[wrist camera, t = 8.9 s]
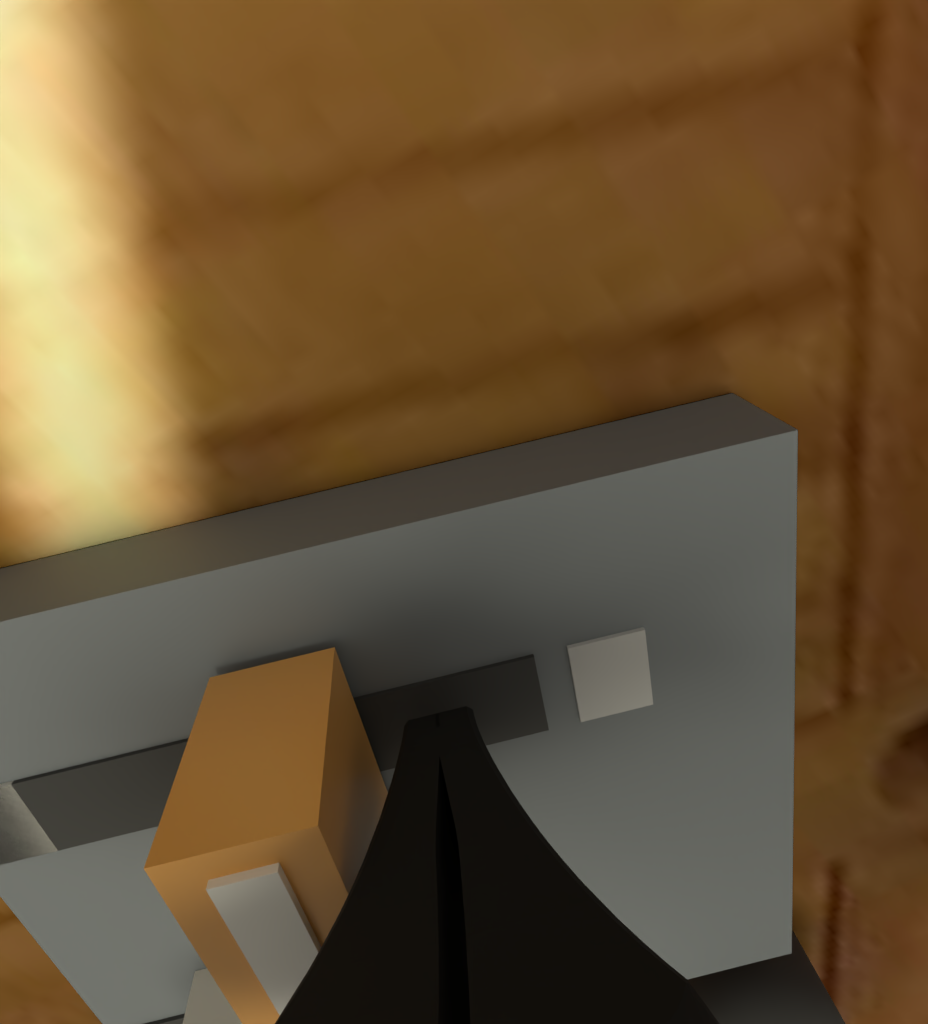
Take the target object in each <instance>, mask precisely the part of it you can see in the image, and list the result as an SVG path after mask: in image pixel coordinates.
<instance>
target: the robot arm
mask: <svg viewBox="0 0 928 1024" xmlns="http://www.w3.org/2000/svg"><path fill="white" fill-rule="evenodd" d="M275 1024H719V1022H718V1021H717V1020H716V1018H715V1017H714V1015H713V1014H712V1012H711V1011H710V1010H709V1008H708V1007H707V1005H706V1004H705V1003H704V1001H703V1000H702V999H701V997H700V996H699V995H698V993H697V992H696V991H695V989H694V988H693V986H692V985H691V984H690V982H689V981H688V980H687V979H686V978H685V977H684V976H682V975H681V974H680V973H679V972H678V971H676V970H675V969H674V968H673V967H671V966H670V965H669V964H668V963H667V962H665V961H664V960H663V959H662V958H661V957H660V956H659V955H657V954H656V953H655V952H654V951H653V950H652V949H650V948H649V947H648V946H647V945H646V944H645V943H644V942H643V941H642V940H640V939H639V938H638V937H637V936H636V935H635V934H634V933H633V932H632V931H631V930H630V929H629V928H628V927H626V926H625V925H624V924H623V923H622V922H621V921H620V920H619V919H618V918H617V917H616V916H615V915H614V914H613V913H612V912H611V911H610V910H609V909H608V908H607V907H606V906H605V905H604V904H603V903H602V902H601V901H600V900H599V899H598V898H597V897H596V895H595V894H594V893H593V892H592V891H591V890H590V889H589V888H588V887H587V886H586V885H585V884H584V883H583V882H582V881H581V880H580V879H579V878H578V877H577V875H576V874H575V873H574V872H573V871H572V870H571V869H570V867H569V866H568V865H567V864H566V863H565V862H564V861H563V859H562V858H561V857H560V856H559V855H558V853H557V852H556V851H555V850H554V848H553V847H552V846H551V845H550V844H549V842H548V841H547V840H546V838H545V837H544V836H543V835H542V833H541V832H540V831H539V829H538V828H537V827H536V825H535V824H534V823H533V821H532V820H531V818H530V817H529V816H528V814H527V813H526V811H525V810H524V809H523V807H522V806H521V804H520V803H519V801H518V800H517V798H516V797H515V795H514V794H513V792H512V791H511V789H510V788H509V786H508V784H507V783H506V781H505V779H504V778H503V776H502V774H501V773H500V771H499V769H498V768H497V766H496V764H495V762H494V761H493V759H492V757H491V755H490V753H489V751H488V749H487V747H486V745H485V743H484V741H483V739H482V736H481V734H480V732H479V729H478V726H477V723H476V719H475V715H474V712H473V709H471V708H469V707H467V706H464V707H460V708H456V709H452V710H448V711H444V712H440V713H436V714H432V715H427V716H423V717H419V718H415V719H411V720H408V722H407V723H406V724H405V726H404V731H403V737H402V742H401V746H400V751H399V755H398V759H397V763H396V767H395V771H394V774H393V778H392V781H391V785H390V788H389V791H388V794H387V797H386V800H385V803H384V807H383V810H382V813H381V816H380V819H379V821H378V824H377V827H376V829H375V832H374V835H373V837H372V840H371V842H370V845H369V848H368V850H367V853H366V855H365V858H364V860H363V863H362V865H361V868H360V870H359V872H358V874H357V877H356V879H355V881H354V883H353V886H352V888H351V890H350V892H349V894H348V896H347V898H346V901H345V903H344V905H343V907H342V909H341V911H340V913H339V915H338V917H337V919H336V921H335V922H334V924H333V926H332V928H331V930H330V932H329V934H328V936H327V938H326V939H325V941H324V943H323V945H322V947H321V949H320V951H319V952H318V954H317V956H316V958H315V959H314V961H313V963H312V965H311V966H310V968H309V970H308V972H307V973H306V975H305V976H304V978H303V980H302V981H301V983H300V984H299V986H298V988H297V989H296V991H295V992H294V994H293V995H292V997H291V999H290V1000H289V1002H288V1003H287V1005H286V1007H285V1008H284V1010H283V1011H282V1013H281V1015H280V1016H279V1018H278V1019H277V1021H276V1023H275Z"/></svg>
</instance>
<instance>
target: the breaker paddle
mask: <svg viewBox="0 0 928 1024" xmlns="http://www.w3.org/2000/svg"><path fill="white" fill-rule="evenodd" d="M387 794H388V792H387V789H386V786H385V784H384V781H383V778H382V775H381V773H380V770H379V767H378V764H377V762H376V759H375V756H374V754H373V751H372V748H371V745H370V743H369V740H368V737H367V734H366V732H365V729H364V726H363V723H362V721H361V718H360V715H359V712H358V710H357V707H356V704H355V701H354V699H353V696H352V693H351V691H350V688H349V685H348V682H347V680H346V677H345V674H344V671H343V669H342V666H341V663H340V660H339V658H338V655H337V652H336V649H335V647H333V648H329V649H325V650H321V651H317V652H313V653H309V654H304V655H300V656H296V657H292V658H288V659H284V660H280V661H276V662H272V663H267V664H263V665H259V666H255V667H251V668H247V669H243V670H239V671H235V672H230V673H226V674H222V675H218V676H214V677H210V678H209V681H208V684H207V687H206V690H205V693H204V695H203V698H202V701H201V704H200V707H199V710H198V713H197V716H196V719H195V721H194V724H193V727H192V730H191V733H190V736H189V739H188V742H187V745H186V748H185V750H184V753H183V756H182V759H181V762H180V765H179V768H178V771H177V774H176V776H175V779H174V782H173V785H172V788H171V791H170V794H169V797H168V800H167V803H166V805H165V808H164V811H163V814H162V817H161V820H160V823H159V826H158V829H157V831H156V834H155V837H154V840H153V843H152V846H151V849H150V852H149V855H148V858H147V860H146V863H145V866H144V870H145V872H146V873H147V875H148V876H149V878H150V880H151V881H152V883H153V884H154V886H155V887H156V889H157V891H158V892H159V894H160V895H161V897H162V898H163V900H164V902H165V903H166V905H167V906H168V908H169V909H170V911H171V913H172V914H173V916H174V917H175V919H176V920H177V922H178V924H179V925H180V927H181V928H182V930H183V931H184V933H185V935H186V936H187V938H188V939H189V941H190V942H191V944H192V945H193V947H194V949H195V950H196V952H197V953H198V955H199V956H200V958H201V960H202V961H203V963H204V964H205V966H206V967H207V969H208V971H209V972H210V974H211V975H212V977H213V978H214V980H215V982H216V983H217V985H218V986H219V988H220V989H221V991H222V993H223V994H224V996H225V997H226V999H227V1000H228V1002H229V1004H230V1005H231V1007H232V1008H233V1010H234V1011H235V1013H236V1015H237V1016H238V1018H239V1019H240V1021H241V1022H242V1024H275V1023H276V1021H277V1019H278V1018H279V1016H280V1015H281V1013H282V1011H283V1010H284V1008H285V1007H286V1005H287V1003H288V1002H289V1000H290V999H291V997H292V995H293V994H294V992H295V991H296V989H297V988H298V986H299V984H300V983H301V981H302V980H303V978H304V976H305V975H306V973H307V972H308V970H309V968H310V966H311V965H312V963H313V961H314V959H315V958H316V956H317V954H318V952H319V951H320V949H321V947H322V945H323V943H324V941H325V939H326V938H327V936H328V934H329V932H330V930H331V928H332V926H333V924H334V922H335V921H336V919H337V917H338V915H339V913H340V911H341V909H342V907H343V905H344V903H345V901H346V898H347V896H348V894H349V892H350V890H351V888H352V886H353V883H354V881H355V879H356V877H357V874H358V872H359V870H360V868H361V865H362V863H363V860H364V858H365V855H366V853H367V850H368V848H369V845H370V842H371V840H372V837H373V835H374V832H375V829H376V827H377V824H378V821H379V819H380V816H381V813H382V810H383V807H384V803H385V800H386V797H387Z"/></svg>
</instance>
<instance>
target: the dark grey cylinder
mask: <svg viewBox="0 0 928 1024" xmlns="http://www.w3.org/2000/svg"><path fill="white" fill-rule="evenodd" d="M687 980H688V981H689V982H690V984H691V985H692V986H693V988H694V989H695V991H696V992H697V993H698V995H699V996H700V997H701V999H702V1000H703V1001H704V1003H705V1004H706V1005H707V1007H708V1008H709V1010H710V1011H711V1012H712V1014H713V1015H714V1017H715V1018H716V1020H717V1021H718V1022H719V1024H845V1022H844V1021H843V1019H842V1017H841V1015H840V1014H839V1012H838V1010H837V1008H836V1006H835V1005H834V1003H833V1001H832V999H831V998H830V996H829V994H828V992H827V990H826V989H825V987H824V985H823V983H822V982H821V980H820V978H819V976H818V974H817V973H816V971H815V969H814V967H813V966H812V964H811V962H810V960H809V959H808V957H807V955H806V953H805V951H804V950H803V948H802V946H801V944H800V943H799V941H798V939H797V937H796V935H795V934H794V932H793V930H792V953H791V954H787V955H783V956H779V957H775V958H771V959H767V960H763V961H759V962H755V963H751V964H747V965H743V966H739V967H735V968H731V969H727V970H723V971H719V972H715V973H711V974H707V975H703V976H699V977H695V978H691V979H687Z"/></svg>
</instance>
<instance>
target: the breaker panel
mask: <svg viewBox="0 0 928 1024" xmlns="http://www.w3.org/2000/svg"><path fill="white" fill-rule="evenodd" d="M797 447H798V430H797V429H795V428H793V427H792V426H790V425H788V424H786V423H785V422H783V421H781V420H779V419H778V418H776V417H774V416H772V415H770V414H769V413H767V412H765V411H763V410H762V409H760V408H758V407H756V406H755V405H753V404H751V403H749V402H747V401H746V400H744V399H742V398H740V397H739V396H737V395H735V394H733V393H731V394H727V395H723V396H719V397H714V398H710V399H706V400H702V401H698V402H693V403H689V404H685V405H681V406H677V407H673V408H668V409H664V410H660V411H656V412H652V413H648V414H643V415H639V416H635V417H631V418H627V419H623V420H618V421H614V422H610V423H606V424H602V425H597V426H593V427H589V428H585V429H581V430H577V431H572V432H568V433H564V434H560V435H556V436H552V437H547V438H543V439H539V440H535V441H531V442H527V443H522V444H518V445H514V446H510V447H506V448H501V449H497V450H493V451H489V452H485V453H481V454H476V455H472V456H468V457H464V458H460V459H456V460H451V461H447V462H443V463H439V464H435V465H431V466H426V467H422V468H418V469H414V470H410V471H406V472H401V473H397V474H393V475H389V476H385V477H380V478H376V479H372V480H368V481H364V482H360V483H355V484H351V485H347V486H343V487H339V488H335V489H330V490H326V491H322V492H318V493H314V494H310V495H305V496H301V497H297V498H293V499H289V500H284V501H280V502H276V503H272V504H268V505H264V506H259V507H255V508H251V509H247V510H243V511H239V512H234V513H230V514H226V515H222V516H218V517H214V518H209V519H205V520H201V521H197V522H193V523H188V524H184V525H180V526H176V527H172V528H168V529H163V530H159V531H155V532H151V533H147V534H143V535H138V536H134V537H130V538H126V539H122V540H118V541H113V542H109V543H105V544H101V545H97V546H92V547H88V548H84V549H80V550H76V551H72V552H67V553H63V554H59V555H55V556H51V557H47V558H42V559H38V560H34V561H30V562H26V563H22V564H17V565H13V566H9V567H5V568H1V569H0V896H1V898H2V899H3V900H4V901H5V903H6V904H7V905H8V906H9V908H10V909H11V910H12V911H13V913H14V914H15V915H16V916H17V918H18V919H19V920H20V921H21V923H22V924H23V925H24V926H25V928H26V929H27V930H28V931H29V933H30V934H31V935H32V936H33V938H34V939H35V940H36V941H37V943H38V944H39V945H40V946H41V948H42V949H43V950H44V951H45V953H46V954H47V955H48V956H49V958H50V959H51V960H52V961H53V963H54V964H55V965H56V966H57V968H58V969H59V970H60V971H61V973H62V974H63V975H64V976H65V977H66V979H67V980H68V981H69V982H70V984H71V985H72V986H73V987H74V989H75V990H76V991H77V992H78V994H79V995H80V996H81V997H82V999H83V1000H84V1001H85V1002H86V1004H87V1005H88V1006H89V1007H90V1009H91V1010H92V1011H93V1012H94V1014H95V1015H96V1016H97V1017H98V1019H99V1020H100V1021H101V1022H102V1024H242V1022H241V1021H240V1019H239V1018H238V1016H237V1015H236V1013H235V1011H234V1010H233V1008H232V1007H231V1005H230V1004H229V1002H228V1000H227V999H226V997H225V996H224V994H223V993H222V991H221V989H220V988H219V986H218V985H217V983H216V982H215V980H214V978H213V977H212V975H211V974H210V972H209V971H208V969H207V967H206V966H205V964H204V963H203V961H202V960H201V958H200V956H199V955H198V953H197V952H196V950H195V949H194V947H193V945H192V944H191V942H190V941H189V939H188V938H187V936H186V935H185V933H184V931H183V930H182V928H181V927H180V925H179V924H178V922H177V920H176V919H175V917H174V916H173V914H172V913H171V911H170V909H169V908H168V906H167V905H166V903H165V902H164V900H163V898H162V897H161V895H160V894H159V892H158V891H157V889H156V887H155V886H154V884H153V883H152V881H151V880H150V878H149V876H148V875H147V873H146V872H145V870H144V866H145V863H146V860H147V858H148V855H149V852H150V849H151V846H152V843H153V840H154V837H155V834H156V831H157V829H158V826H159V823H160V820H161V817H162V814H163V811H164V808H165V805H166V803H167V800H168V797H169V794H170V791H171V788H172V785H173V782H174V779H175V776H176V774H177V771H178V768H179V765H180V762H181V759H182V756H183V753H184V750H185V748H186V745H187V742H188V739H189V736H190V733H191V730H192V727H193V724H194V721H195V719H196V716H197V713H198V710H199V707H200V704H201V701H202V698H203V695H204V693H205V690H206V687H207V684H208V681H209V678H210V677H214V676H218V675H222V674H226V673H230V672H235V671H239V670H243V669H247V668H251V667H255V666H259V665H263V664H267V663H272V662H276V661H280V660H284V659H288V658H292V657H296V656H300V655H304V654H309V653H313V652H317V651H321V650H325V649H329V648H333V647H335V649H336V652H337V655H338V658H339V660H340V663H341V666H342V669H343V671H344V674H345V677H346V680H347V682H348V685H349V688H350V691H351V693H352V696H353V699H354V701H355V704H356V707H357V710H358V712H359V715H360V718H361V721H362V723H363V726H364V729H365V732H366V734H367V737H368V740H369V743H370V745H371V748H372V751H373V754H374V756H375V759H376V762H377V764H378V767H379V770H380V773H381V775H382V778H383V781H384V784H385V786H386V789H387V792H388V791H389V788H390V785H391V781H392V778H393V774H394V771H395V767H396V763H397V759H398V755H399V751H400V746H401V742H402V737H403V731H404V726H405V724H406V723H407V722H408V720H411V719H415V718H419V717H423V716H427V715H432V714H436V713H440V712H444V711H448V710H452V709H456V708H460V707H464V706H467V707H469V708H471V709H473V712H474V715H475V719H476V723H477V726H478V729H479V732H480V734H481V736H482V739H483V741H484V743H485V745H486V747H487V749H488V751H489V753H490V755H491V757H492V759H493V761H494V762H495V764H496V766H497V768H498V769H499V771H500V773H501V774H502V776H503V778H504V779H505V781H506V783H507V784H508V786H509V788H510V789H511V791H512V792H513V794H514V795H515V797H516V798H517V800H518V801H519V803H520V804H521V806H522V807H523V809H524V810H525V811H526V813H527V814H528V816H529V817H530V818H531V820H532V821H533V823H534V824H535V825H536V827H537V828H538V829H539V831H540V832H541V833H542V835H543V836H544V837H545V838H546V840H547V841H548V842H549V844H550V845H551V846H552V847H553V848H554V850H555V851H556V852H557V853H558V855H559V856H560V857H561V858H562V859H563V861H564V862H565V863H566V864H567V865H568V866H569V867H570V869H571V870H572V871H573V872H574V873H575V874H576V875H577V877H578V878H579V879H580V880H581V881H582V882H583V883H584V884H585V885H586V886H587V887H588V888H589V889H590V890H591V891H592V892H593V893H594V894H595V895H596V897H597V898H598V899H599V900H600V901H601V902H602V903H603V904H604V905H605V906H606V907H607V908H608V909H609V910H610V911H611V912H612V913H613V914H614V915H615V916H616V917H617V918H618V919H619V920H620V921H621V922H622V923H623V924H624V925H625V926H626V927H628V928H629V929H630V930H631V931H632V932H633V933H634V934H635V935H636V936H637V937H638V938H639V939H640V940H642V941H643V942H644V943H645V944H646V945H647V946H648V947H649V948H650V949H652V950H653V951H654V952H655V953H656V954H657V955H659V956H660V957H661V958H662V959H663V960H664V961H665V962H667V963H668V964H669V965H670V966H671V967H673V968H674V969H675V970H676V971H678V972H679V973H680V974H681V975H682V976H684V977H685V978H686V979H691V978H695V977H699V976H703V975H707V974H711V973H715V972H719V971H723V970H727V969H731V968H735V967H739V966H743V965H747V964H751V963H755V962H759V961H763V960H767V959H771V958H775V957H779V956H783V955H787V954H791V953H792V882H793V795H794V708H795V621H796V534H797Z"/></svg>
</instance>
